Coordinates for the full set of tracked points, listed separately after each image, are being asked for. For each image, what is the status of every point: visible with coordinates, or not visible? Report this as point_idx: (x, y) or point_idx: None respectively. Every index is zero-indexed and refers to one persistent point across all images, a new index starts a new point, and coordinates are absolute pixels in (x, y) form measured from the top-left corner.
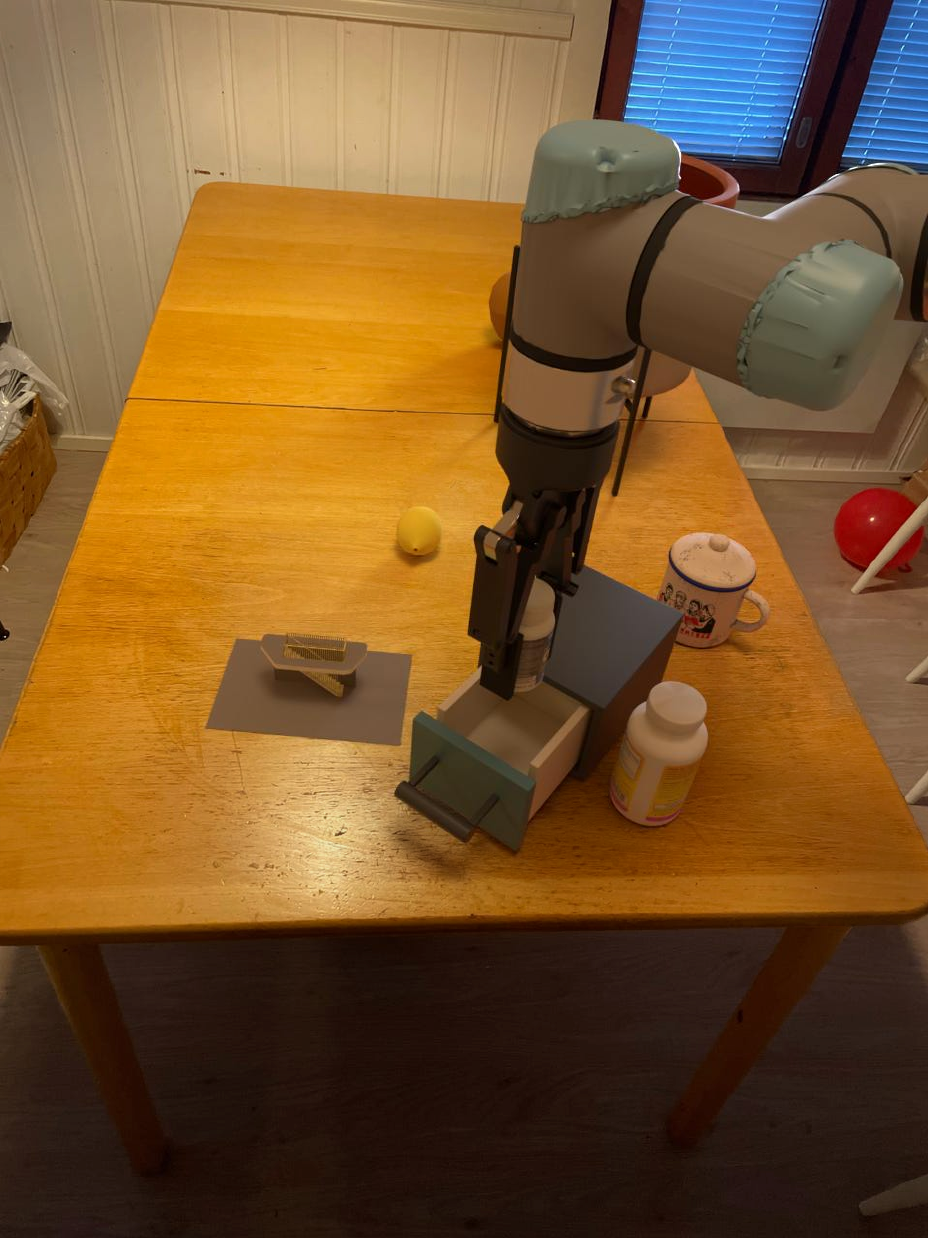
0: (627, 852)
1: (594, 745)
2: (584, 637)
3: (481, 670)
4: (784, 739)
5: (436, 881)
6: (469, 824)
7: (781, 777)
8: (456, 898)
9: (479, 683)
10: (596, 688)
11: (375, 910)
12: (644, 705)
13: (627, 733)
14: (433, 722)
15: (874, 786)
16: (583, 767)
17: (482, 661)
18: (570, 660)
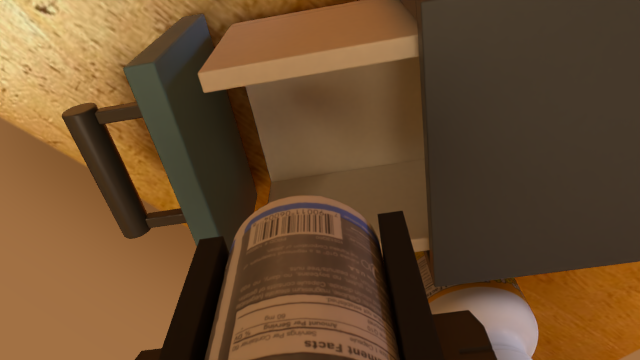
0: None
1: None
2: (599, 161)
3: (186, 278)
4: (635, 279)
5: (137, 154)
6: (137, 230)
7: (570, 300)
8: (146, 183)
9: (198, 243)
10: (470, 256)
11: (45, 135)
12: (487, 320)
13: (432, 301)
14: (157, 105)
15: (615, 352)
16: None
17: (177, 303)
18: (507, 186)
